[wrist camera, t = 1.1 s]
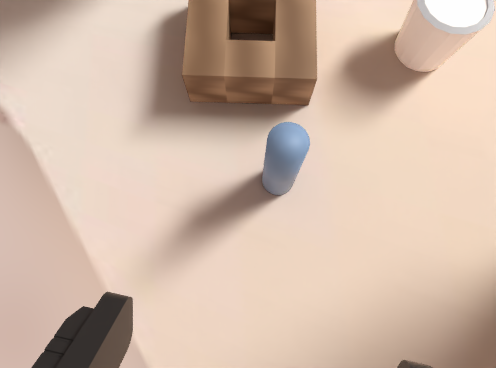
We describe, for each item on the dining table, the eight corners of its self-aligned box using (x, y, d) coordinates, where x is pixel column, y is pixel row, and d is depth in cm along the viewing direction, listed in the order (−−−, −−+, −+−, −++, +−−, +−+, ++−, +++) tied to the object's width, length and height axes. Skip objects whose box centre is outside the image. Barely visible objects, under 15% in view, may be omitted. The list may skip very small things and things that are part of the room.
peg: (293, 165, 36) (309, 122, 27) (293, 195, 35) (309, 162, 26) (262, 164, 36) (267, 121, 27) (261, 194, 35) (266, 161, 26)
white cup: (375, 38, 40) (401, -12, 33) (427, 11, 41) (463, -43, 34) (413, 88, 38) (449, 46, 32) (466, 59, 39) (512, 12, 32)
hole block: (307, 5, 41) (315, -32, 36) (308, 104, 38) (317, 78, 33) (198, 2, 41) (191, -35, 36) (190, 101, 38) (182, 74, 33)
